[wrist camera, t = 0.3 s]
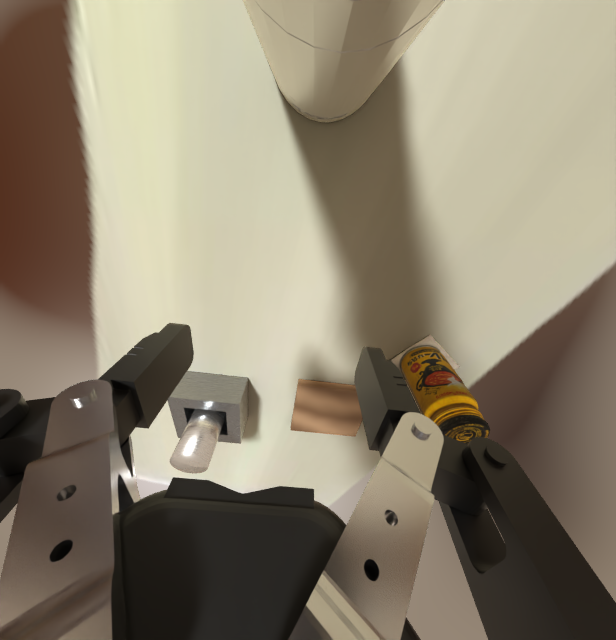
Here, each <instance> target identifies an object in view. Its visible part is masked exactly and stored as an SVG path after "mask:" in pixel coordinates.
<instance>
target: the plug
mask: <svg viewBox="0 0 616 640" xmlns="http://www.w3.org/2000/svg"><path fill="white" fill-rule="evenodd" d="M225 418H226V412H223V411H213V410H203V409H195V410H194V412H193V414H192V416H191V418H190V420H189V422H188V424H187V426H186V428H185V430H184V432H183V434H182V436H181V438H180V440H179V442H178V444H177V446H176V448H175V450H174V452H173V454H172V456H171V458H170V463H171V465H172V466H173V467H174V468H176V469H178V470H180V471H183V472H187V473H201V472H204V471H206V470H207V469H208V466H209V463H210V460H211V458H212V455H213V452H214V449H215V446H216V443H217V441H218V438H219V435H220V432H221V429H222V426H223V424H224V421H225Z"/></svg>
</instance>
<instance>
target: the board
mask: <svg viewBox="0 0 616 640" xmlns="http://www.w3.org/2000/svg"><path fill="white" fill-rule="evenodd" d="M362 420H363V418H362V414H361V409H360V405H359V401H358V396H357V392H356V387H355V385H348V384H339V383H330V382H321V381H312V380H303V379H299V380H298V386H297V392H296V398H295V404H294V410H293V416H292V422H291V430H294V431H304V432H314V433H325V434H335V435H345V436H356V433H357V431H358V429H359V427H360V424H361V422H362Z"/></svg>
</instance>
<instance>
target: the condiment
mask: <svg viewBox="0 0 616 640" xmlns="http://www.w3.org/2000/svg"><path fill="white" fill-rule="evenodd" d="M391 361H392V362H393V363H394V364H395V365H396V366H397V367H398V368H399V370H400V372H401V374H402V376H403V378H404V379H405V380H406V381H407V383H408V385H409V387H410V390H411V392H412V394H413V396H414V398H415V401H416V403H417V405H418V407H419V409H420V412H421V414H422V415H424V416H426V417H428V418H429V419H431V420H432V421H433V422H434V423H435V424H436V425H437V426H438V427H439V429H440V430H441V432H442V434H443V435H445V436H448V437H450V438H453V439H456V440H458V441H461V442H463V443H466V444H468V443H469V442H470V441H471V440H472V439H473V438H475V437H484V438H487V437H488V436H489V433H490V428H489V426H488V423H487V422H486V421H485V420H484V419H483V417H482V414H481V413H480V412H479V411H478V405H477V402H476V400H475V399H474V397H473V396H472V395H471V393H470V392H469V390H468V389H467V388H466V386H465V385H464V383H463V382H462V380H461V379H460V378H459V376H458V375H457V373H456V372H455V371H454V370H455V369H457V368H459V367H460V366H459V365H458V364H457V363H456V362H455V361H454V360H453V359H452V358H451V357H450V355H449V354H448V353H447V352H446V351H445V350H444V349H443V348H442V347H441V346H440V345H439V344H438V342H437V341H436V340H435V339H434V338H433V337H432V336H431V335H429V336H427V337H426V338H424V339H423V340H421V341H419V342H417V343H416V344H414V345H413V346H411V347H409V348H408V349H406V350H405V351H403V352H402V353H400V354H399V355H397V356H396V357H395V358H393V359H392V360H391Z"/></svg>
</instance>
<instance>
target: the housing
mask: <svg viewBox="0 0 616 640" xmlns="http://www.w3.org/2000/svg"><path fill="white" fill-rule="evenodd" d="M168 403H169V407H170V410H171V414H172V418H173V421H174V425H175V428H176V432H177V436H178V438H181V436H182V434H183V432H184V430H185V428H186V426H187V424H188V422H189V420H190V418H191V416H192V414H193V412H194V410H195V409H203V410H213V411H223V412H226V418H225V421H224V424H223V426H222V429H221V432H220V435H219V438H218V441H219V442H230V443H240V444H241V440H242V437H243V433H244V429H245V425H246V421H247V418H248V378H245V377H236V376H227V375H218V374H208V373H199V372H190V371H187V372H186V373H185V375H184V376H183V378H182V379H181V381H180V382H179V383H178V385H177V386H176V388H175V389H174V391H173V392H172V394H171V395H170V397H169V398H168Z"/></svg>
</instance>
